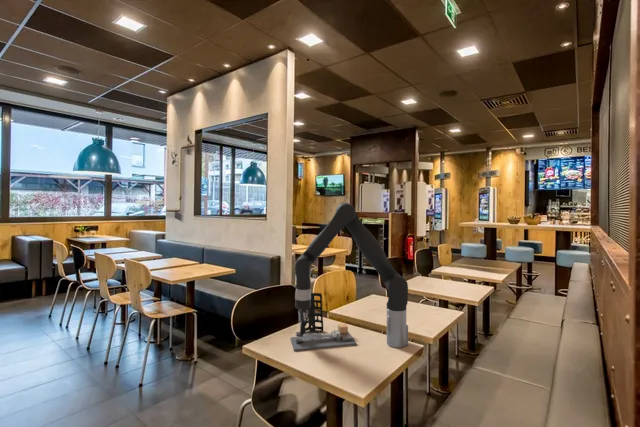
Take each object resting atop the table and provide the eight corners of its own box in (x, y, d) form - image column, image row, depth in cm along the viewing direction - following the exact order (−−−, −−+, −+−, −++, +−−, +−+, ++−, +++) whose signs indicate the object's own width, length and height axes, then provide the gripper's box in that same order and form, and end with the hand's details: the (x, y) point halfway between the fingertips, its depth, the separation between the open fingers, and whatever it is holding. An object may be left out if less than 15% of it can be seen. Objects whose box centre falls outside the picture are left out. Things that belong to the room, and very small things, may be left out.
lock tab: (345, 329, 175) (345, 323, 175) (347, 332, 171) (347, 326, 171) (338, 330, 174) (338, 324, 174) (340, 333, 170) (340, 327, 170)
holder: (305, 335, 173) (304, 296, 174) (300, 331, 180) (299, 293, 181) (325, 332, 177) (323, 293, 179) (319, 329, 184) (318, 291, 186)
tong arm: (332, 335, 168) (333, 333, 168) (334, 337, 165) (334, 335, 165) (294, 334, 164) (295, 332, 164) (295, 336, 161) (296, 334, 161)
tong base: (346, 332, 175) (346, 325, 175) (352, 340, 165) (352, 333, 165) (294, 336, 170) (294, 330, 170) (297, 346, 159) (297, 338, 159)
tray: (348, 333, 176) (348, 332, 176) (356, 345, 162) (356, 343, 162) (290, 339, 170) (290, 337, 170) (294, 351, 156) (294, 349, 156)
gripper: (313, 301, 157) (312, 338, 158) (308, 293, 170) (307, 327, 171) (297, 302, 156) (296, 339, 156) (293, 294, 169) (293, 328, 169)
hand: (302, 333), depth 164 cm, fingers closed
